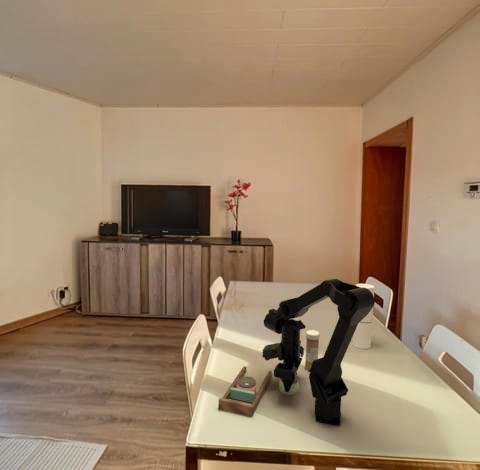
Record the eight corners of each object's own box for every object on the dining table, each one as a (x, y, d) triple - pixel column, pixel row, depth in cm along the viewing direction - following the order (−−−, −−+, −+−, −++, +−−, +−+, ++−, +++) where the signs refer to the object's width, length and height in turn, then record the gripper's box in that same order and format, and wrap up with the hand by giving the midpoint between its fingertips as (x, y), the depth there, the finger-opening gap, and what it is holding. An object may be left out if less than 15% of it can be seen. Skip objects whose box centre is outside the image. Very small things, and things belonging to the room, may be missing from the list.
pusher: (254, 400, 105) (255, 391, 104) (253, 403, 104) (253, 394, 103) (231, 395, 107) (231, 387, 107) (230, 398, 106) (230, 389, 106)
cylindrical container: (357, 340, 150) (360, 282, 147) (373, 345, 145) (377, 286, 142) (349, 344, 145) (352, 285, 142) (365, 350, 140) (369, 289, 137)
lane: (271, 376, 119) (271, 367, 119) (252, 417, 97) (252, 406, 97) (243, 371, 122) (243, 362, 122) (218, 409, 101) (218, 399, 100)
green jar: (299, 386, 113) (300, 374, 113) (296, 396, 108) (297, 384, 107) (281, 382, 115) (281, 371, 115) (277, 392, 110) (277, 380, 109)
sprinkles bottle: (303, 365, 127) (304, 329, 125) (315, 365, 127) (317, 329, 126) (306, 372, 122) (308, 334, 121) (319, 371, 123) (321, 334, 121)
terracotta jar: (258, 390, 111) (258, 378, 110) (252, 400, 105) (253, 388, 105) (240, 386, 113) (240, 374, 112) (233, 396, 107) (234, 384, 107)
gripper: (272, 325, 121) (271, 368, 123) (257, 347, 103) (256, 397, 105) (304, 329, 117) (303, 373, 119) (295, 353, 100) (293, 405, 102)
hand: (288, 386), depth 111 cm, fingers closed on green jar, 6 cm apart
